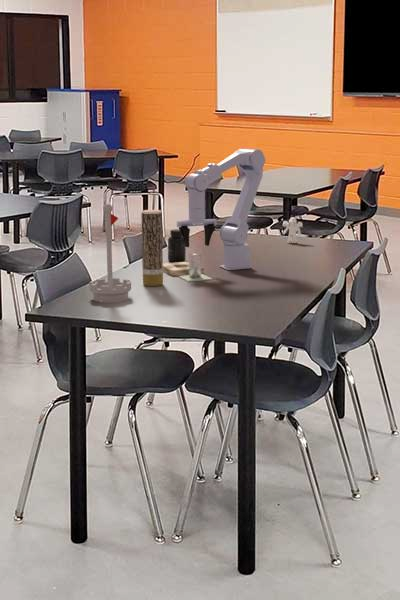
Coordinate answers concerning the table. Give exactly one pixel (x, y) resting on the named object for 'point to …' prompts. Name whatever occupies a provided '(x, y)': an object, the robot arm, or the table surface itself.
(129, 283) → the flag stand
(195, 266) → the clear glass cup
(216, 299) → the table surface
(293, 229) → the hat wearing toy figure
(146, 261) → the paper tube
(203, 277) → the sage mat
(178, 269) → the plate
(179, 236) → the supplement bottle
